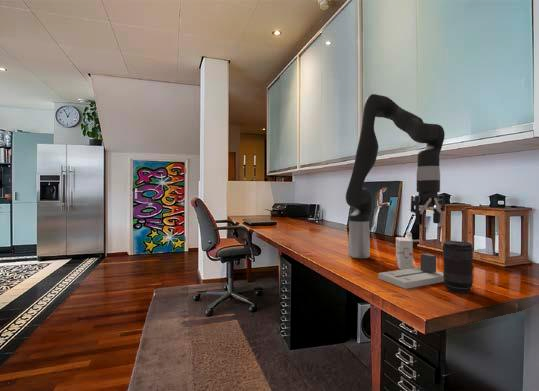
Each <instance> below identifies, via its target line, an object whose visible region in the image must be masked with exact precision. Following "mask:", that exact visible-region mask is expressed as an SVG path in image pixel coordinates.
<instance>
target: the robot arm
mask: <svg viewBox="0 0 539 391" xmlns="http://www.w3.org/2000/svg"><path fill="white" fill-rule="evenodd" d="M376 118H384V119H387V120H391V121H392V122H393V124H394V125H395V126H396V127H397V129H399V130H401V131H403V132H405V134H407V135H408V137H410V138H411V140H412V141H414V142H416V143H419V144H426V147H425V149H424V150H420V151H419V152H418V153H417V159H416V160H417V163H416V164H417V166H416V167H417V168H416V192H417V193H418V195H411V198H410V212H411V213H414V215H415V224H416V225H418V226H421V225H423V223H424V222H423V220H424V219H423V218H424V214H423V213H424V211H426V210H427V208H429V209H431V210H432V211H433V214H432V222H433V224H441V223H440V222H441V214H442V212H446V211H445V210H446V202H445V201H446V200H445V199H446V198H445V195H444V194H438V193H440V192H441V168H440V155H441V152H442V147H443V144H444V141H445V135H446V133H445V130H444V127H443V126H442V125H441V124H438V123H427V122H424V120H423V118H421V117H419V116H418V115H416V114H415V113H412V112H410V111H408V110H406V109H404V108H402V107H401V106H399V105H398V104H397V103H396V102H395V101H393V99H391V98H389V97H388V96H385V95H381V94H376V93H375V94H374V93H371V94H369V95H368V96H367V97H366V99H365V100H364V105H363V110H362V119H361V127H360V134H359V138H358V144H357V147H356V151H355V152H356V153H355V159H354V163H353V168H352V173H351V176H350V178H349V179H350V180H349V183H348V186H347V189H346V192H345V202H346V204H347V206H349V207H350V208H351V207H353V208H354V210H353V212H352V213H351V214H349V216H348V217H349V219H348V221H349V222H348V224H349V225H348V226H349V228H348V229H349V231H348V232H349V235H348V240H347V242H348V252H347V253H348V256H349V257H350V258H353V259H354V258H356V259H368V258H370V257H371V256H370V248H371V247H370V218H371V215H372V202H373V199H372V198H373V197H372V193H371V190H370V189H369V188H367V187H364V183H365V180H366V178H367V176H368V174H369V173H370V172H371V171H372V169H373V168H374V165H375V164H376V161H377V158H378V151H379V141H378V139H377V136H376V135H377V134H376V132H375V120H376Z"/></svg>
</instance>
